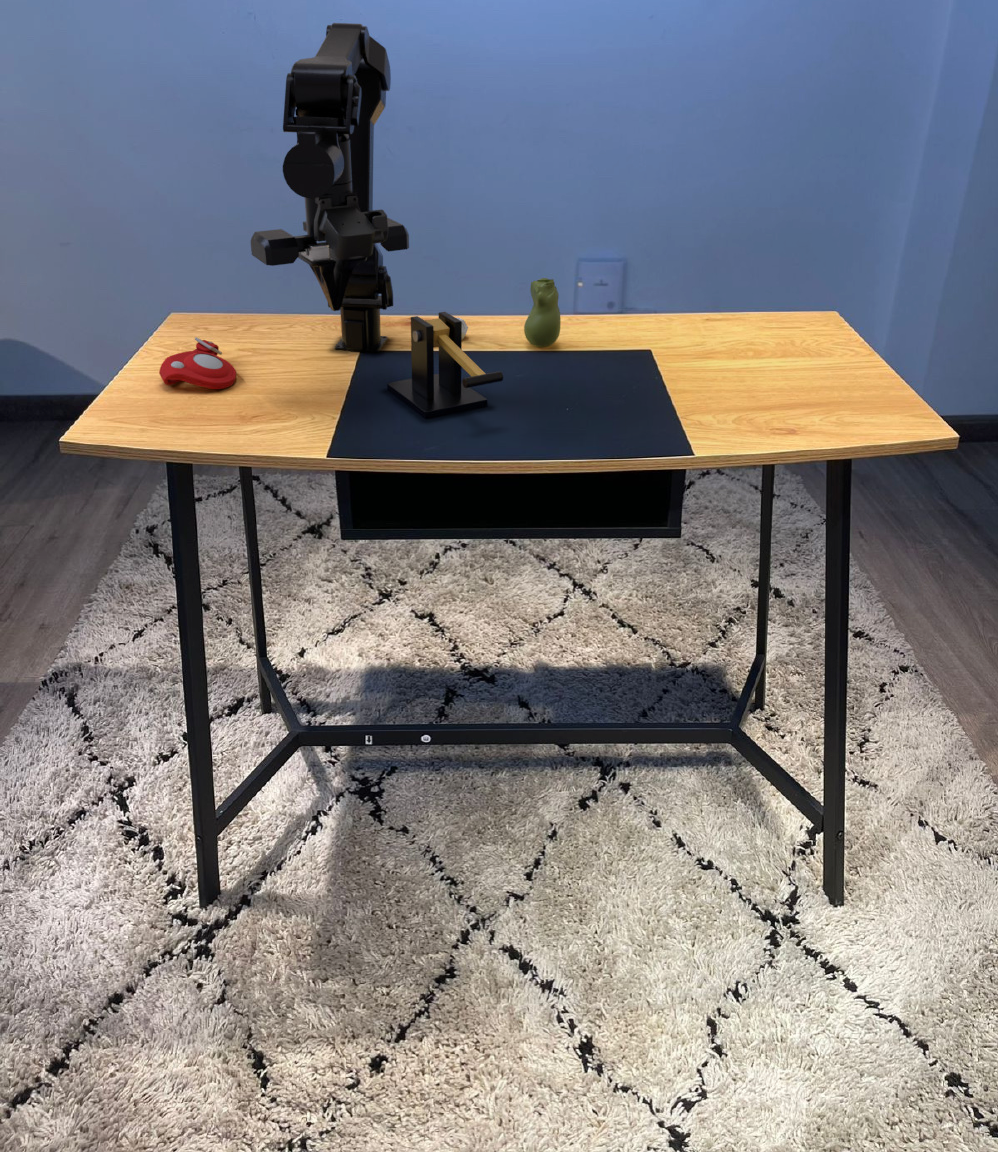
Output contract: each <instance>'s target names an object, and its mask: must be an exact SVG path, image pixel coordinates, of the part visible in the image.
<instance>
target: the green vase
mask: <svg viewBox="0 0 998 1152" xmlns="http://www.w3.org/2000/svg"><path fill="white" fill-rule="evenodd" d="M555 285H556V282H555V280H554V279H553V278H551V279H550V278H547V277H542V278H539V279H537V280H533V281H531V282H530V290H529V291H530V295H531V299H532V302H533V305H532V308H531V310H530V312H529V314H528V316H527V318H526V320H525V322H524V325H523V333H524V336H525V338H526V340H527V341H528V343H529V344H531V345H532V346H533V347H537V348H547V347H550V346H552V345H553V344H555V343H556V342H557V340H558V338H559V337H560V333H561V325H562V323H561V321H562V320H561V311H560V307H559V298H560V297H559V295H560V294H559V291H558V288H557V286H555Z"/></svg>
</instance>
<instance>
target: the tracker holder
mask: <svg viewBox="0 0 998 1152" xmlns="http://www.w3.org/2000/svg"><path fill="white" fill-rule="evenodd" d="M194 341H196V342H197V343H196V344H195V349H193V350H188V351H187V350H186V351H183V352H178V353H175V354H172V355H169V356H167V357H165V359H164V360H163V361H162V363H161V365H160V368H159V371H158V372H159V376H160V378H161V380H162V382H163V383H164V385H166V386H172V385H175V384H177V383H180V382H181V381H183V382H185V383H187V384H191V385H194V386H198V387H202V388H205V389H212V390H221V389H227V388H229V387H231V386H233V385H234V384H235V381H236V378H237V370H236V369H235V367H234V365H233V364H232V363H230V362H229V361H228V360H226V359H225V358H223V357H221V356H222V355H223V352H222V351H220V350H219V348H220V347H219V345H218V344H215V343H214V342H213V341H209V340H206V339H201V338H200V337H199V338H198V337H196V336H195V337H194ZM219 355H220V356H219Z"/></svg>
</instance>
